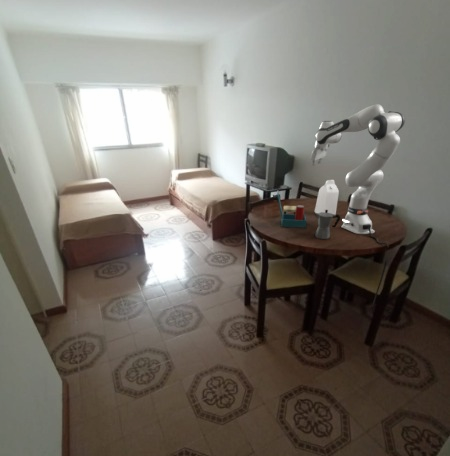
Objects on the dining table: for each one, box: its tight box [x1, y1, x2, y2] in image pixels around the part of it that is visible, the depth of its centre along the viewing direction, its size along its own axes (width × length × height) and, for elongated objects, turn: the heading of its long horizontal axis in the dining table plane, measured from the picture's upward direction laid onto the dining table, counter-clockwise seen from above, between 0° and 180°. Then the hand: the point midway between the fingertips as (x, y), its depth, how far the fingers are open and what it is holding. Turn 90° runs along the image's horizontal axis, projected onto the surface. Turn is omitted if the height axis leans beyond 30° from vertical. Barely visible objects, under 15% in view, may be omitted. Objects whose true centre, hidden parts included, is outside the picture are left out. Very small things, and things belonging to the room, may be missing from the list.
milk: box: [314, 179, 340, 215], centre depth 216 cm, size 12×12×26 cm
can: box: [295, 204, 305, 220], centre depth 196 cm, size 6×6×13 cm
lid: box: [271, 190, 284, 220], centre depth 195 cm, size 17×13×5 cm
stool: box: [283, 205, 297, 214], centre depth 212 cm, size 10×10×8 cm
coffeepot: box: [314, 210, 341, 240], centre depth 175 cm, size 15×9×18 cm, turn 68°
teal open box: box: [281, 213, 307, 228], centre depth 199 cm, size 17×13×6 cm
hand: (316, 164), depth 209 cm, fingers open, 8 cm apart
